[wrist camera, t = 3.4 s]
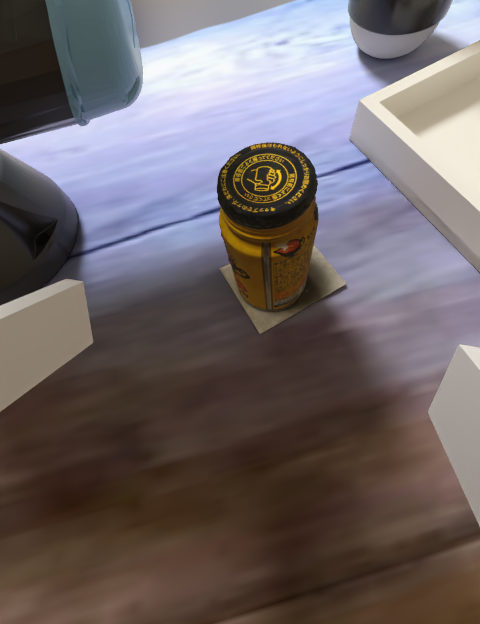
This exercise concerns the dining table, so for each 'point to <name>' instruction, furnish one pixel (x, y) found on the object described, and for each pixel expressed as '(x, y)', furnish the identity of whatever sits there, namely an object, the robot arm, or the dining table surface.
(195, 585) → the dining table surface
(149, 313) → the dining table surface
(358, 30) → the pump dispenser
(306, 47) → the dining table surface
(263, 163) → the condiment
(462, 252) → the tray
